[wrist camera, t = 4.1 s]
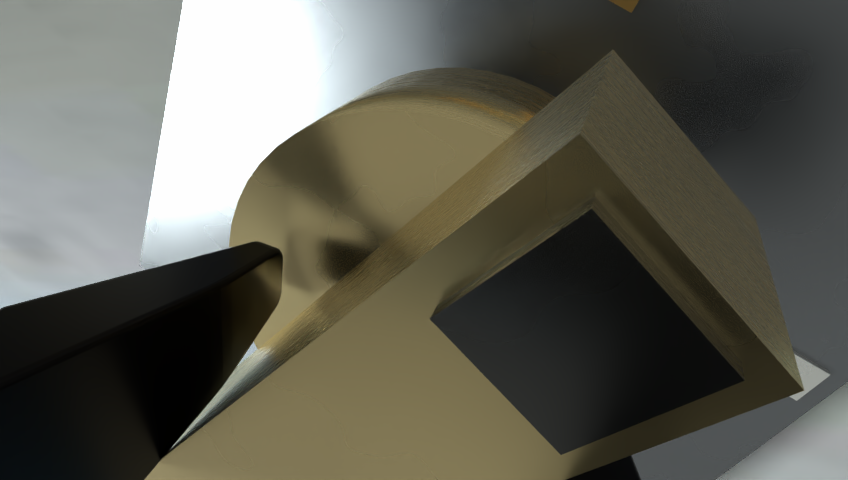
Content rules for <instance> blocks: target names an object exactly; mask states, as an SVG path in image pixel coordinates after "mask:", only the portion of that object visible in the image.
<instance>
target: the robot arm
mask: <svg viewBox="0 0 848 480" xmlns="http://www.w3.org/2000/svg"><path fill="white" fill-rule="evenodd" d="M282 273H283V255H282V252H281V251H280V250H279V249H278V248H276V247H273V246H270V245H268V244H265V243H262V242H259V241H254V242H249V243H246V244H242V245H238V246H234V247H230V248H227V249H223V250H219V251H215V252H211V253H208V254H204V255H200V256H196V257H192V258H189V259H185V260H181V261H177V262H173V263H170V264H166V265H162V266H158V267H155V268H151V269H147V270H143V271H139V272H136V273H132V274H128V275H124V276H120V277H117V278H113V279H109V280H105V281H101V282H97V283H94V284H90V285H86V286H82V287H78V288H75V289H71V290H67V291H63V292H59V293H56V294H52V295H48V296H44V297H40V298H37V299H33V300H29V301H25V302H21V303H18V304H14V305H10V306H6V307H3V308H1V309H0V480H145V478H146V477H147V476H148V475H149V474H150V472H151V471H152V470H153V469H154V468H155V466H156V465H157V464H158V463H159V462H160V460H161V459H162V458H163V456H164V455H165V454H166V453H167V452H168V451H169V450H170V449H171V448H172V446H173V445H174V444H175V443H176V442H177V440H178V439H179V438H180V437H181V436H182V435H183V433H184V432H185V431H186V430H187V429H188V427H189V426H190V425H191V424H192V423H193V422H194V420H195V419H196V418H197V417H198V416H199V414H200V413H201V412H202V411H203V410H204V409H205V407H206V406H207V405H208V404H209V403H210V401H211V400H212V399H213V398H214V397H215V395H216V394H217V393H218V392H219V390H220V389H221V388H222V387H223V385H224V384H225V383H226V381H227V380H228V378H229V377H230V376H231V374H232V373H233V371H234V370H235V368H236V367H237V365H238V364H239V362H240V361H241V359H242V358H243V356H244V355H245V353H246V352H247V350H248V349H249V347H250V346H251V344H252V343H253V341H254V340H255V338H256V337H257V335H258V334H259V332H260V331H261V329H262V328H263V327H264V325H265V324H266V322H267V321H268V319H269V318H270V316H271V315H272V313H273V312H274V310H275V309H276V307H277V305H278V303H279V300H280V297H281V292H282ZM566 480H641V478H640V475H639V473H638V470H637V468H636V465H635V462H634V460H633V457H632V455H631V456H628V457H625V458H623V459H620V460H617V461H614V462H612V463H609V464H606V465H604V466H601V467H598V468H596V469H593V470H590V471H588V472H585V473H582V474H580V475H577V476H574V477H572V478H569V479H566Z"/></svg>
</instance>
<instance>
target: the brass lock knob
mask: <svg viewBox="0 0 848 480" xmlns="http://www.w3.org/2000/svg"><path fill="white" fill-rule="evenodd" d="M254 241H259V242H262V243H265V244H268V245H270V246H273V247H276V248H278V249H279V250H280V251H281V252H282V255H283V273H282V292H281V297H280V300H279V303H278V305H277V307H276V309H275V310H274V312H273V313H272V315H271V316H270V318H269V319H268V321H267V322H266V324H265V325H264V327H263V328H262V329H261V331H260V332H259V334H258V335H257V337H256V338H255V340H254V343H255V345H256V347H257V348H258V349H257V350H256V351H255V352H254V353H253V354H251V355H250V356H249V357H248V358H247V359H246V360H244V361H243V362H242V363H241V364H240V365H238V366H237V367H236V368H235V370H234V371H233V373H232V374H231V376H230V377H229V378H228V380H227V381H226V383H225V384H224V385H223V387H222V388H221V389H220V390H219V392H218V393H217V394H216V395H215V397H214V398H213V399H212V400H211V401H210V403H209V404H208V405H207V406H206V407H205V409H204V410H203V411H202V412H201V413H200V414H199V416H198V417H197V418H196V419H195V420H194V422H193V423H192V424H191V425H190V426H189V427H188V429H187V430H186V431H185V432H184V433H183V435H182V436H181V437H180V438H179V439H178V440H177V442H176V443H175V444H174V445H173V446H172V448H171V449H170V450H169V451H168V452H167V453H166V454H165V455H164V456H163V458H162V459H161V460H160V462H159V463H158V464H157V465H156V466H155V468H154V469H153V470H152V471H151V472H150V474H149V475H148V476H147V477H146V478H145V480H566V479H569V478H572V477H574V476H577V475H580V474H582V473H585V472H588V471H590V470H593V469H596V468H598V467H601V466H604V465H606V464H609V463H612V462H614V461H617V460H620V459H623V458H625V457H628V456H631V455H633V454H636V453H639V452H641V451H644V450H647V449H649V448H652V447H655V446H657V445H660V444H663V443H665V442H668V441H671V440H673V439H676V438H679V437H681V436H684V435H687V434H689V433H692V432H695V431H698V430H700V429H703V428H706V427H708V426H711V425H714V424H716V423H719V422H722V421H724V420H727V419H730V418H732V417H735V416H738V415H740V414H743V413H746V412H748V411H751V410H754V409H756V408H759V407H762V406H765V405H767V404H770V403H773V402H775V401H778V400H781V399H783V398H786V397H789V396H791V395H794V394H797V393H799V392H802V391H804V387H803V384H802V380H801V377H800V373H799V370H798V366H797V362H796V359H795V355H794V352H793V348H792V345H791V341H790V338H789V334H788V331H787V327H786V324H785V320H784V317H783V313H782V310H781V306H780V302H779V299H778V295H777V292H776V288H775V285H774V281H773V278H772V274H771V271H770V267H769V264H768V260H767V257H766V253H765V250H764V246H763V242H762V239H761V235H760V232H759V228H758V225H757V221H756V218H755V217H754V215H753V214H752V213H751V212H750V211H749V209H748V208H747V207H746V206H745V205H744V204H743V202H742V201H741V200H740V199H739V198H738V196H737V195H736V194H735V193H734V192H733V191H732V189H731V188H730V187H729V186H728V185H727V183H726V182H725V181H724V180H723V179H722V177H721V176H720V175H719V174H718V173H717V172H716V170H715V169H714V168H713V167H712V166H711V164H710V163H709V162H708V161H707V160H706V159H705V157H704V156H703V155H702V154H701V153H700V151H699V150H698V149H697V148H696V147H695V146H694V144H693V143H692V142H691V141H690V140H689V138H688V137H687V136H686V135H685V134H684V132H683V131H682V130H681V129H680V128H679V127H678V125H677V124H676V123H675V122H674V121H673V119H672V118H671V117H670V116H669V115H668V114H667V112H666V111H665V110H664V109H663V108H662V106H661V105H660V104H659V103H658V102H657V100H656V99H655V98H654V97H653V96H652V95H651V93H650V92H649V91H648V90H647V89H646V87H645V86H644V85H643V84H642V83H641V82H640V80H639V79H638V78H637V77H636V76H635V74H634V73H633V72H632V71H631V70H630V69H629V67H628V66H627V65H626V64H625V63H624V61H623V60H622V59H621V58H620V57H619V55H618V54H617V53H616V52H615V51H614V50H612V51H610V52H609V53H608V54H607V55H606V56H604V57H603V58H602V59H601V60H600V61H599V62H597V63H596V64H595V65H594V66H593V67H591V68H590V69H589V70H588V71H587V72H586V73H584V74H583V75H582V76H581V77H580V78H578V79H577V80H576V81H575V82H574V83H572V84H571V85H570V86H569V87H568V88H567V89H565V90H564V91H563V92H562V93H561V94H559V95H558V96H557V97H554V96H552V95H550V94H549V93H547V92H545V91H544V90H542V89H540V88H538V87H535V86H533V85H531V84H528V83H526V82H523V81H521V80H518V79H516V78H513V77H509V76H506V75H502V74H498V73H494V72H491V71H485V70H478V69H470V68H433V69H426V70H420V71H414V72H410V73H407V74H404V75H400V76H397V77H394V78H391V79H388V80H386V81H384V82H382V83H380V84H378V85H376V86H374V87H372V88H370V89H368V90H367V91H365V92H363V93H362V94H360V95H358V96H357V97H355V98H353V99H352V100H350V101H348V102H347V103H345V104H343V105H342V106H340V107H338V108H337V109H335V110H333V111H332V112H330V113H328V114H327V115H325V116H324V117H322V118H320V119H319V120H317V121H315V122H314V123H312V124H310V125H309V126H307V127H305V128H304V129H302V130H300V131H299V132H297V133H295V134H294V135H293V136H291V137H290V138H288V139H287V140H285V141H284V142H283V143H281V144H280V145H278V146H277V147H276V148H275V149H274V150H273V151H272V152H271V153H270V154H269V155H268V156H267V157H266V158H265V159H264V160H263V161H262V162H261V163H260V164H259V165H258V167H257V168H256V170H255V171H254V172H253V174H252V175H251V177H250V178H249V180H248V181H247V183H246V185H245V187H244V189H243V191H242V193H241V195H240V198H239V200H238V202H237V206H236V209H235V213H234V216H233V220H232V224H231V232H230V240H229V248H230V247H234V246H238V245H242V244H246V243H249V242H254Z"/></svg>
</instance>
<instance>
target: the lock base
mask: <svg viewBox="0 0 848 480" xmlns="http://www.w3.org/2000/svg"><path fill="white" fill-rule="evenodd" d="M612 50H614V51H615V52H616V53H617V54H618V55H619V57H620V58H621V59H622V60H623V61H624V63H625V64H626V65H627V66H628V67H629V69H630V70H631V71H632V72H633V73H634V74H635V76H636V77H637V78H638V79H639V80H640V82H641V83H642V84H643V85H644V86H645V87H646V89H647V90H648V91H649V92H650V93H651V95H652V96H653V97H654V98H655V99H656V100H657V102H658V103H659V104H660V105H661V106H662V108H663V109H664V110H665V111H666V112H667V114H668V115H669V116H670V117H671V118H672V119H673V121H674V122H675V123H676V124H677V125H678V127H679V128H680V129H681V130H682V131H683V132H684V134H685V135H686V136H687V137H688V138H689V140H690V141H691V142H692V143H693V144H694V146H695V147H696V148H697V149H698V150H699V151H700V153H701V154H702V155H703V156H704V157H705V159H706V160H707V161H708V162H709V163H710V164H711V166H712V167H713V168H714V169H715V170H716V172H717V173H718V174H719V175H720V176H721V177H722V179H723V180H724V181H725V182H726V183H727V185H728V186H729V187H730V188H731V189H732V191H733V192H734V193H735V194H736V195H737V196H738V198H739V199H740V200H741V201H742V202H743V204H744V205H745V206H746V207H747V208H748V209H749V211H750V212H751V213H752V214H753V215H754V217H755V218H756V221H757V225H758V228H759V232H760V235H761V239H762V242H763V246H764V250H765V253H766V257H767V260H768V264H769V267H770V271H771V274H772V278H773V281H774V285H775V288H776V292H777V295H778V299H779V302H780V306H781V310H782V313H783V317H784V320H785V324H786V327H787V331H788V334H789V338H790V341H791V345H792V348H793V352H794V355H795V359H796V362H797V366H798V370H799V373H800V377H801V380H802V384H803V387H804V391H802V392H799V393H797V394H794V395H791V396H789V397H786V398H783V399H781V400H778V401H775V402H773V403H770V404H767V405H765V406H762V407H759V408H756V409H754V410H751V411H748V412H746V413H743V414H740V415H738V416H735V417H732V418H730V419H727V420H724V421H722V422H719V423H716V424H714V425H711V426H708V427H706V428H703V429H700V430H698V431H695V432H692V433H689V434H687V435H684V436H681V437H679V438H676V439H673V440H671V441H668V442H665V443H663V444H660V445H657V446H655V447H652V448H649V449H647V450H644V451H641V452H639V453H636V454H633V455H632V457H633V460H634V462H635V465H636V468H637V470H638V473H639V475H640V478H641V480H715V479H717V478H718V477H719V476H721V475H722V474H723V473H725V472H726V471H727V470H729V469H730V468H731V467H733V466H734V465H735V464H737V463H738V462H740V461H741V460H742V459H744V458H745V457H746V456H748V455H749V454H750V453H752V452H753V451H754V450H756V449H757V448H758V447H760V446H761V445H762V444H764V443H765V442H767V441H768V440H769V439H771V438H772V437H773V436H775V435H776V434H777V433H779V432H780V431H781V430H783V429H784V428H785V427H787V426H788V425H789V424H791V423H792V422H794V421H795V420H796V419H798V418H799V417H800V416H802V415H803V414H804V413H806V412H807V411H808V410H810V409H811V408H812V407H814V406H815V405H816V404H818V403H819V402H821V401H822V400H823V399H825V398H826V397H827V396H829V395H830V394H831V393H833V392H834V391H835V390H837V389H838V388H839V387H841V386H842V385H843V384H845V383H846V382H848V0H184V1H183V7H182V13H181V19H180V24H179V30H178V36H177V42H176V48H175V54H174V60H173V66H172V72H171V78H170V84H169V90H168V96H167V102H166V108H165V114H164V120H163V126H162V132H161V138H160V144H159V150H158V156H157V162H156V168H155V174H154V180H153V186H152V192H151V198H150V204H149V210H148V216H147V222H146V228H145V234H144V240H143V246H142V252H141V258H140V264H139V266H140V267H142V268H144V269H145V270H147V269H151V268H155V267H158V266H162V265H166V264H170V263H173V262H177V261H181V260H185V259H189V258H192V257H196V256H200V255H204V254H208V253H211V252H215V251H219V250H223V249H227V248H229V240H230V232H231V224H232V220H233V216H234V213H235V209H236V206H237V202H238V200H239V198H240V195H241V193H242V191H243V189H244V187H245V185H246V183H247V181H248V180H249V178H250V177H251V175H252V174H253V172H254V171H255V170H256V168H257V167H258V165H259V164H260V163H261V162H262V161H263V160H264V159H265V158H266V157H267V156H268V155H269V154H270V153H271V152H272V151H273V150H274V149H275V148H276V147H277V146H278V145H280V144H281V143H283V142H284V141H285V140H287V139H288V138H290V137H291V136H293V135H294V134H295V133H297V132H299V131H300V130H302V129H304V128H305V127H307V126H309V125H310V124H312V123H314V122H315V121H317V120H319V119H320V118H322V117H324V116H325V115H327V114H328V113H330V112H332V111H333V110H335V109H337V108H338V107H340V106H342V105H343V104H345V103H347V102H348V101H350V100H352V99H353V98H355V97H357V96H358V95H360V94H362V93H363V92H365V91H367V90H368V89H370V88H372V87H374V86H376V85H378V84H380V83H382V82H384V81H386V80H388V79H391V78H394V77H397V76H400V75H404V74H407V73H410V72H414V71H420V70H426V69H433V68H470V69H478V70H485V71H491V72H494V73H498V74H502V75H506V76H509V77H513V78H516V79H518V80H521V81H523V82H526V83H528V84H531V85H533V86H535V87H538V88H540V89H542V90H544V91H545V92H547V93H549V94H550V95H552V96H554V97H557V96H558V95H559V94H561V93H562V92H563V91H564V90H565V89H567V88H568V87H569V86H570V85H571V84H572V83H574V82H575V81H576V80H577V79H578V78H580V77H581V76H582V75H583V74H584V73H586V72H587V71H588V70H589V69H590V68H591V67H593V66H594V65H595V64H596V63H597V62H599V61H600V60H601V59H602V58H603V57H604V56H606V55H607V54H608V53H609V52H610V51H612Z"/></svg>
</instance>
